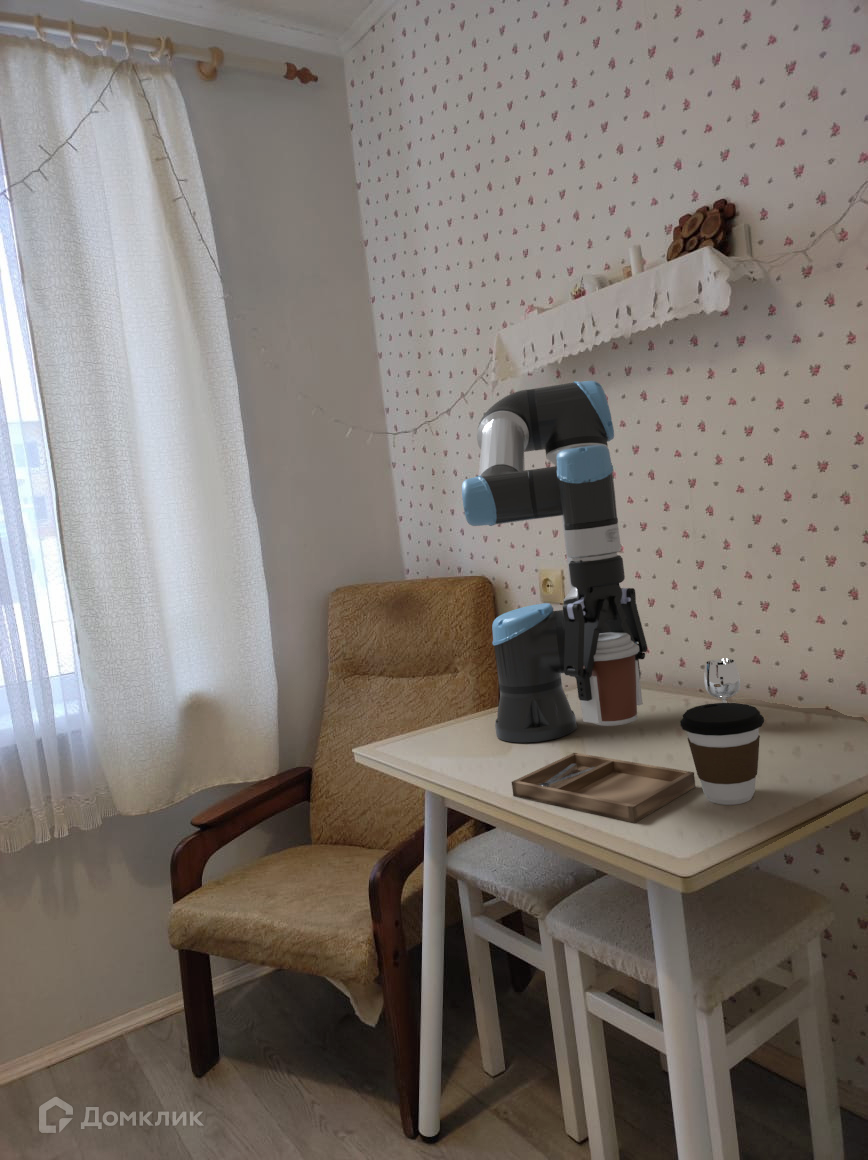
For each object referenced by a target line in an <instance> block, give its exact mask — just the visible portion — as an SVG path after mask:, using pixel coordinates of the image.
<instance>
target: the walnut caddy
mask: <svg viewBox="0 0 868 1160" xmlns="http://www.w3.org/2000/svg"><path fill="white" fill-rule="evenodd" d="M571 764H577V771H575V772H574V773H573V774H575V773H578V772H580V771H583V770H586V769H589V768H592V767H595V768H593V769H591V770H589V771H587V772H585V773H583V774H581V775H579V776H577V777H575V778H573V779H571V780H569V781H567V782H565V783H563V784H561V785H559V786H557V787H555V788H550V787H546V786H541V785H539V784H541V783H545V782H547V781H548V780H550V779H551V778H552V777H554V776H555V775H557V774H558V773H559V772H561V771H562V770H564V769H565V768H566V767H568V766H569V765H571ZM571 775H572V774H571ZM695 788H696V777H695V772H694V771H688V770H684V769H683V770H681V769H675V768H670V767H664V766H658V765H652V764H651V765H650V764H646V763H640V762H633V761H628V760H621V759H614V758H609V757H603V756H597V755H591V754H584V753H578V752H573V753H570V754H568V755H567V756H564V757H562V758H560V759H558V760H556V761H553V762H551V763H549V764H546V765H545V766H543V767H540V768H539V769H537V770H534V771H532V772H530V773H528V774H525V775H523V776H521V777H519V778H517V779H514V780H513V781H511V789H512V796H513V797H517V798H521V799H525V800H529V801H535V802H540V803H543V804H548V805H553V806H557V807H561V808H565V809H570V810H574V811H578V812H584V813H588V814H591V815H592V814H593V815H597V816H602V817H606V818H610V819H614V820H620V821H623V822H629V823H633V824H635V823H637V822H639V821H641V820H642V819H644V818H645V817H647V816H649V815H650V814H652V813H654V812H655V811H657V810H659V809H661V808H663V807H664V806H666V805H667V804H669V803H672V802H673V801H674V800H676V799H678V798H679V797H681V796H683V795H684V794H686V793H688V792H690V791H691V790H693V789H695Z"/></svg>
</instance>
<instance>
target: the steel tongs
mask: <svg viewBox="0 0 868 1160" xmlns="http://www.w3.org/2000/svg"><path fill="white" fill-rule="evenodd" d="M593 768H595V767H592V768H589V769H586V770H583V771H580V772H578V773H575V774H573V773H574V772H575V771H577V764H571V765H569V766H568V767H566V768H565V769H564V770H562V771H561V772H559V773H558V774H557V775H555V776H554V777H552V778H551V779H550V780H548V781H547V782H545V783H541V784H539V785H541V786H546V787H550V788H555V787H557V786H559V785H561V784H563V783H565V782H567V781H569V780H571V779H573V778H575V777H577V776H579V775H581V774H583V773H585V772H587V771H589V770H591V769H593ZM571 774H572V775H571Z"/></svg>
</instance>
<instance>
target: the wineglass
mask: <svg viewBox="0 0 868 1160" xmlns="http://www.w3.org/2000/svg"><path fill="white" fill-rule="evenodd" d="M703 674H704V675H703V678H704V680H703V681H704V687H705V690H706V692H707V693H708V695H710V696H711V697H713V698H716V699H720V700H722V701H721V703H728V701H727V699H730V698H732V697H734V696H736V695H737V694H738V692H739V691H740V687H741V679H740V678H741V677H740V673H739V670H738V667H737V665H736V661H735V660H734V659H731V658H716V659H710V660H707V661H706V662H705V666H704V673H703Z"/></svg>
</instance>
